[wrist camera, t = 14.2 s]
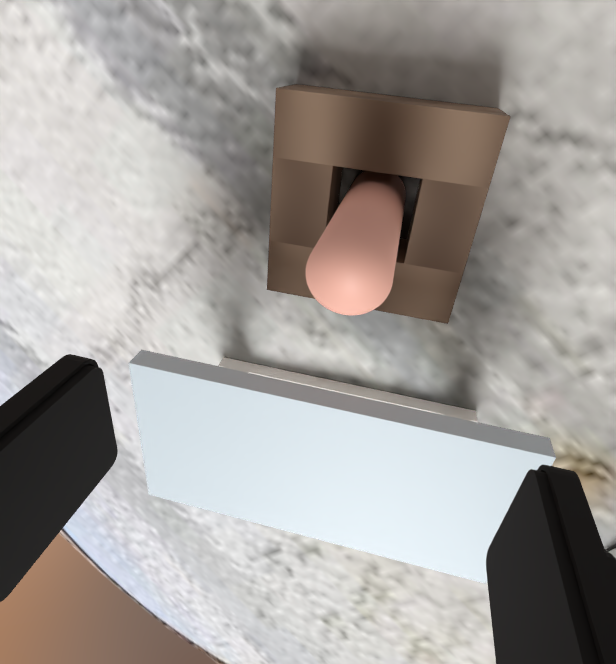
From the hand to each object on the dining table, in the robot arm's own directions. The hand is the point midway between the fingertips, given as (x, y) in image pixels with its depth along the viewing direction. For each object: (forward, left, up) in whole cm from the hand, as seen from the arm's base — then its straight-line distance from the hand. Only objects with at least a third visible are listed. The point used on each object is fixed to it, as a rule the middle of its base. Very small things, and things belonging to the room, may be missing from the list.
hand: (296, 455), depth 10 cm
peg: (0, 0, -21) cm, 21 cm away
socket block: (0, 0, -21) cm, 21 cm away
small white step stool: (0, +11, -21) cm, 24 cm away
